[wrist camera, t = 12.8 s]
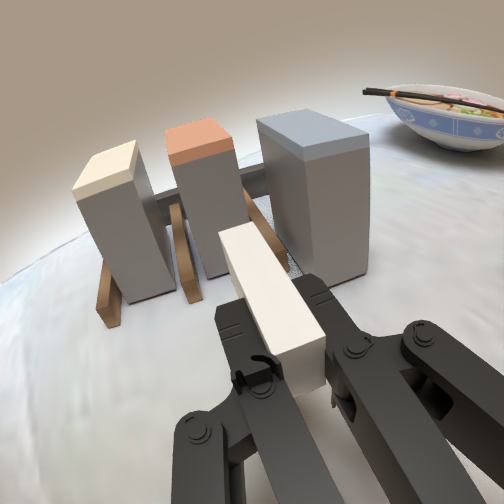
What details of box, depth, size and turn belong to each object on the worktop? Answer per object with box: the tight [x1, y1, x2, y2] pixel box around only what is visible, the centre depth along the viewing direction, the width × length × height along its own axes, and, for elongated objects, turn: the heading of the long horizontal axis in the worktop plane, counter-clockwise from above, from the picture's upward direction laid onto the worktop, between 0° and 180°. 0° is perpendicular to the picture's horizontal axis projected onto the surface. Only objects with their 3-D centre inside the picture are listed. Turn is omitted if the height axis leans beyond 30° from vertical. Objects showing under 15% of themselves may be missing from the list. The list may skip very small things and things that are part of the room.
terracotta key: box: [165, 117, 250, 279], centre depth 25 cm, size 8×4×10 cm, turn 16°
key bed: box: [96, 163, 289, 328], centre depth 28 cm, size 14×20×3 cm
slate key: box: [256, 109, 370, 287], centre depth 21 cm, size 8×4×10 cm, turn 16°
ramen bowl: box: [363, 84, 504, 152], centre depth 36 cm, size 25×23×8 cm
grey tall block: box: [72, 140, 176, 304], centre depth 24 cm, size 8×4×10 cm, turn 16°
